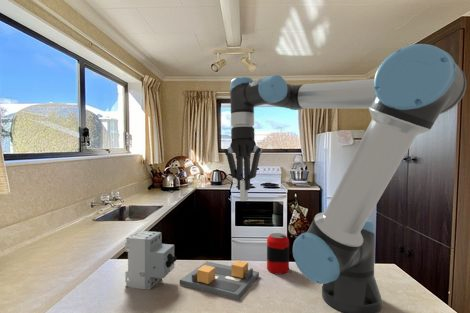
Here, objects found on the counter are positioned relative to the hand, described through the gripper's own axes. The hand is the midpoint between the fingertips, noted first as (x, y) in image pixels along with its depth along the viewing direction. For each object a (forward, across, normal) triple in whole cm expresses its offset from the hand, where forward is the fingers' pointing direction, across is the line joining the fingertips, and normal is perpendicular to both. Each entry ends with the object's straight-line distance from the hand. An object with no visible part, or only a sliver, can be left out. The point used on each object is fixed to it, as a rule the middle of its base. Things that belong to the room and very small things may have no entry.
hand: (244, 200), depth 88 cm
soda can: (+26, -7, -12) cm, 29 cm away
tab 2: (+24, +2, +1) cm, 24 cm away
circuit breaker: (+25, +26, +14) cm, 39 cm away
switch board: (+25, +7, +4) cm, 27 cm away
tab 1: (+24, +10, +9) cm, 27 cm away
